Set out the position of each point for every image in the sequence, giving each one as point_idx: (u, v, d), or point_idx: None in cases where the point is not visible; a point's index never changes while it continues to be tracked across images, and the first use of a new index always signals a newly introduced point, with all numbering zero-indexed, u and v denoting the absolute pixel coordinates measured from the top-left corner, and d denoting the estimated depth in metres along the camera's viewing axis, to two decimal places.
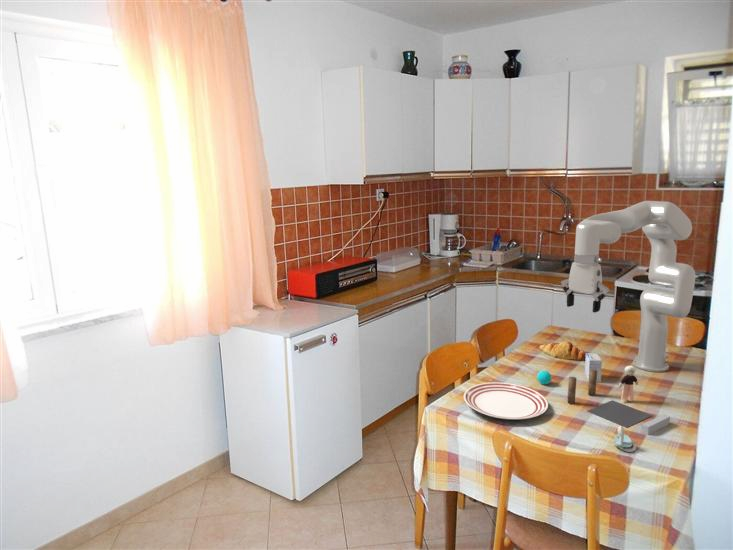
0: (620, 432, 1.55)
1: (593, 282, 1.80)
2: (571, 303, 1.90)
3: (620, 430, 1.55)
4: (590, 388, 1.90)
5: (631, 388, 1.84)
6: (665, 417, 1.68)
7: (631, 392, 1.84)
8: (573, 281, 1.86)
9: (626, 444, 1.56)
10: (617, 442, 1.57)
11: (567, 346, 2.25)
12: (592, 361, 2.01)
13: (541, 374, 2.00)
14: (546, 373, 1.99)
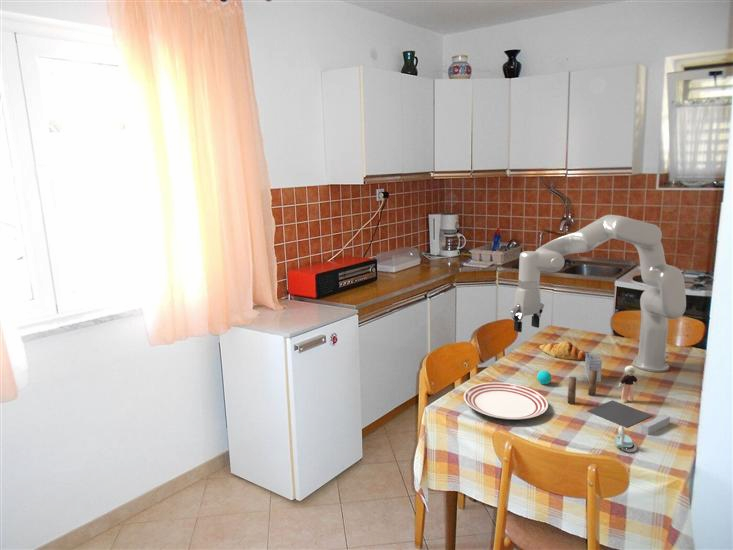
0: (620, 432, 1.55)
1: (539, 302, 2.04)
2: None
3: (621, 430, 1.55)
4: (590, 388, 1.90)
5: (631, 388, 1.84)
6: (665, 417, 1.68)
7: (631, 392, 1.84)
8: (527, 307, 2.00)
9: (627, 444, 1.56)
10: (618, 442, 1.57)
11: (566, 346, 2.25)
12: (592, 361, 2.01)
13: (541, 374, 2.00)
14: (546, 373, 1.99)
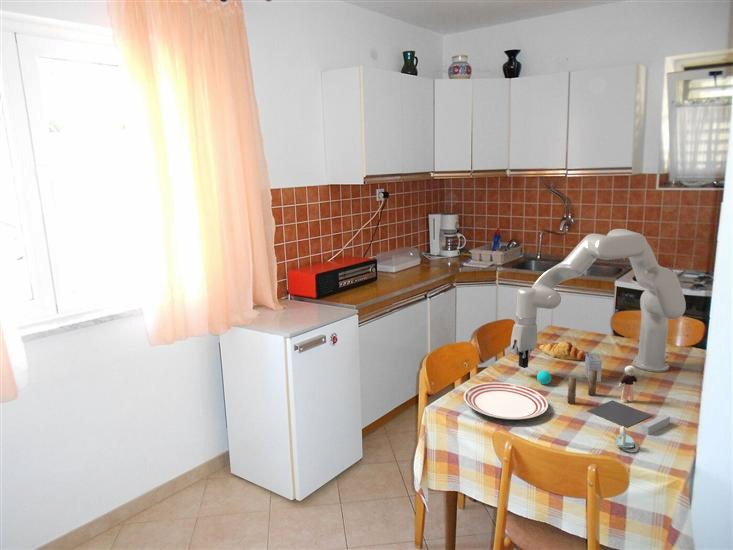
0: (622, 432, 1.55)
1: (536, 337, 2.07)
2: None
3: (622, 430, 1.55)
4: (590, 388, 1.90)
5: (631, 388, 1.84)
6: (665, 417, 1.68)
7: (631, 392, 1.84)
8: (524, 342, 2.03)
9: (628, 444, 1.56)
10: (619, 442, 1.57)
11: (566, 347, 2.25)
12: (592, 361, 2.01)
13: (541, 374, 2.00)
14: (546, 373, 1.99)
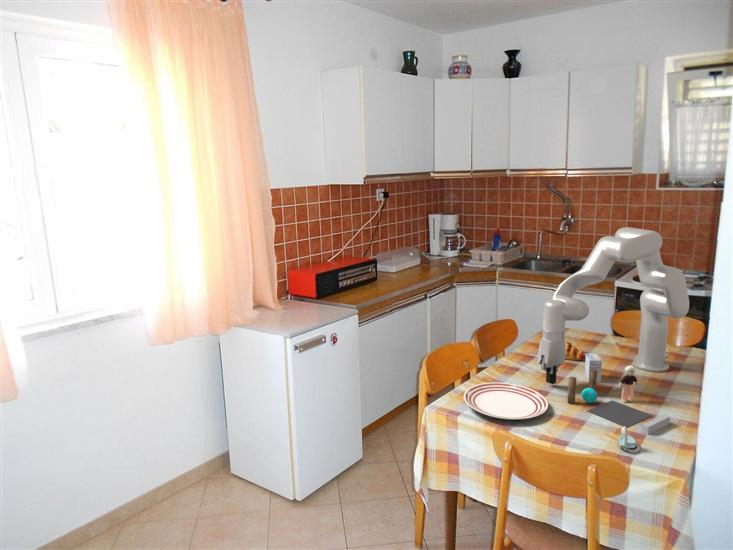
0: (623, 432, 1.55)
1: (564, 352, 1.97)
2: None
3: (624, 431, 1.55)
4: None
5: (631, 388, 1.84)
6: (665, 417, 1.68)
7: (631, 392, 1.84)
8: (552, 358, 1.93)
9: (630, 445, 1.56)
10: (621, 443, 1.57)
11: (565, 347, 2.25)
12: (592, 361, 2.01)
13: (589, 396, 1.83)
14: (594, 398, 1.83)
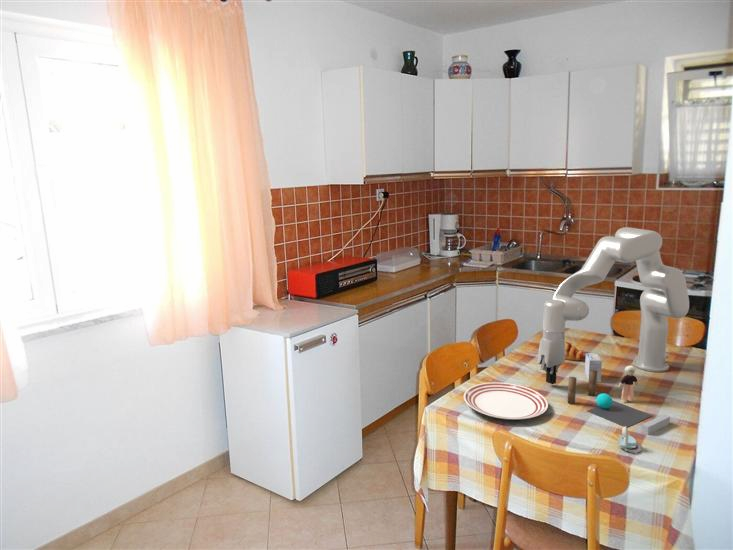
0: (624, 433, 1.55)
1: (564, 352, 1.97)
2: None
3: (625, 431, 1.55)
4: (590, 388, 1.90)
5: (631, 388, 1.84)
6: (665, 417, 1.68)
7: (631, 392, 1.84)
8: (552, 358, 1.93)
9: (631, 445, 1.56)
10: (621, 443, 1.57)
11: (565, 347, 2.25)
12: (592, 361, 2.01)
13: (599, 406, 1.80)
14: None
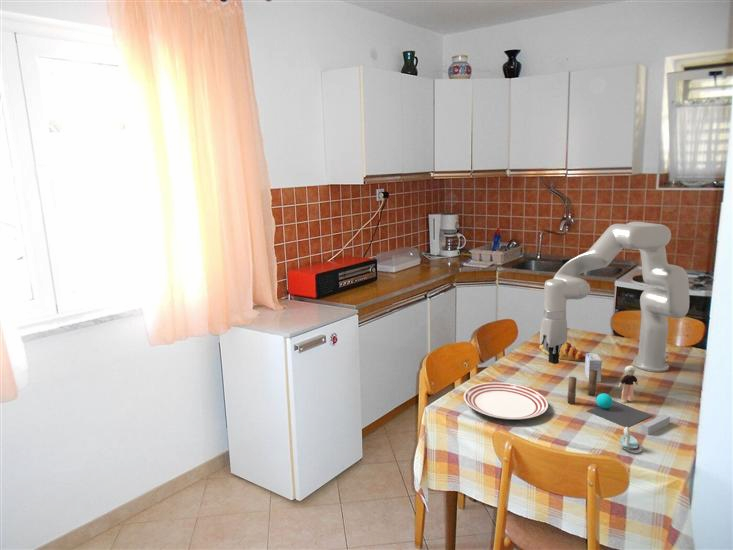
0: (626, 433, 1.55)
1: (566, 331, 1.96)
2: None
3: (626, 431, 1.55)
4: (590, 388, 1.90)
5: (631, 388, 1.84)
6: (665, 417, 1.68)
7: (631, 392, 1.84)
8: (554, 337, 1.92)
9: (632, 445, 1.55)
10: (623, 443, 1.57)
11: (564, 347, 2.25)
12: (592, 361, 2.01)
13: (599, 406, 1.80)
14: None
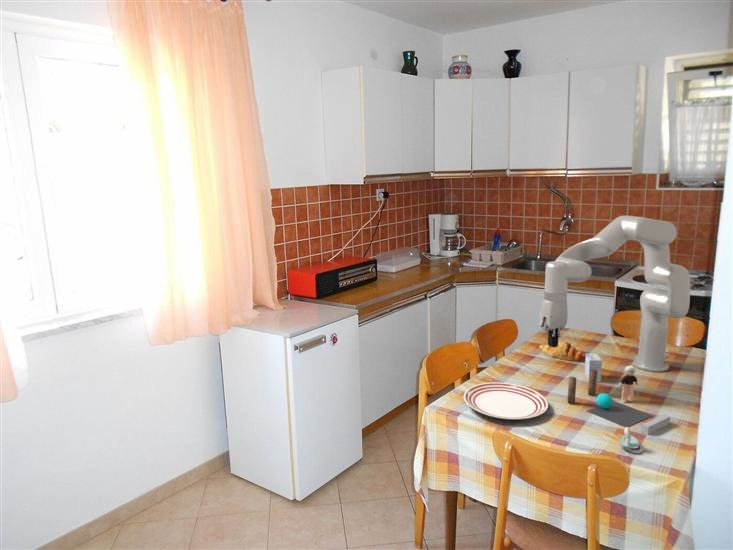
0: (626, 433, 1.55)
1: (566, 314, 1.94)
2: None
3: (627, 431, 1.55)
4: (590, 388, 1.90)
5: (631, 388, 1.84)
6: (665, 417, 1.68)
7: (631, 392, 1.84)
8: (554, 320, 1.91)
9: (633, 445, 1.55)
10: (624, 443, 1.57)
11: (564, 347, 2.25)
12: (592, 361, 2.01)
13: (599, 406, 1.80)
14: None
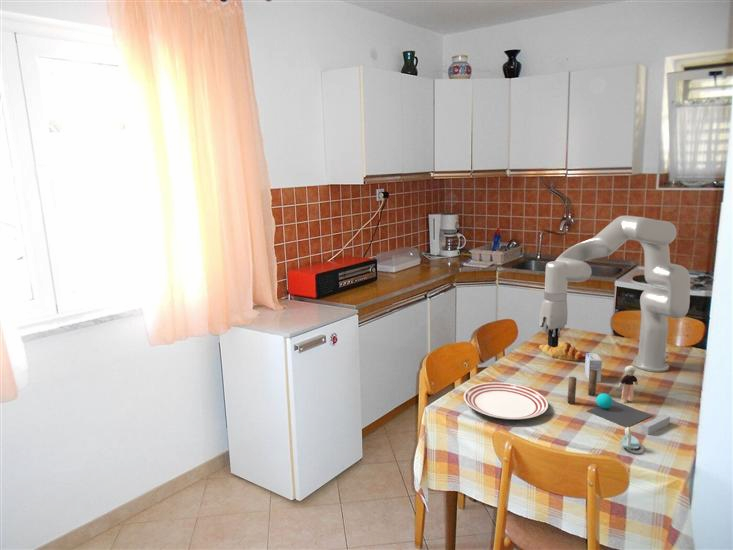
0: (627, 433, 1.54)
1: (566, 314, 1.94)
2: None
3: (627, 431, 1.54)
4: (590, 388, 1.90)
5: (631, 388, 1.84)
6: (665, 417, 1.68)
7: (631, 392, 1.84)
8: (554, 320, 1.91)
9: (633, 445, 1.55)
10: (624, 443, 1.57)
11: (564, 347, 2.25)
12: (592, 361, 2.01)
13: (599, 406, 1.80)
14: None
